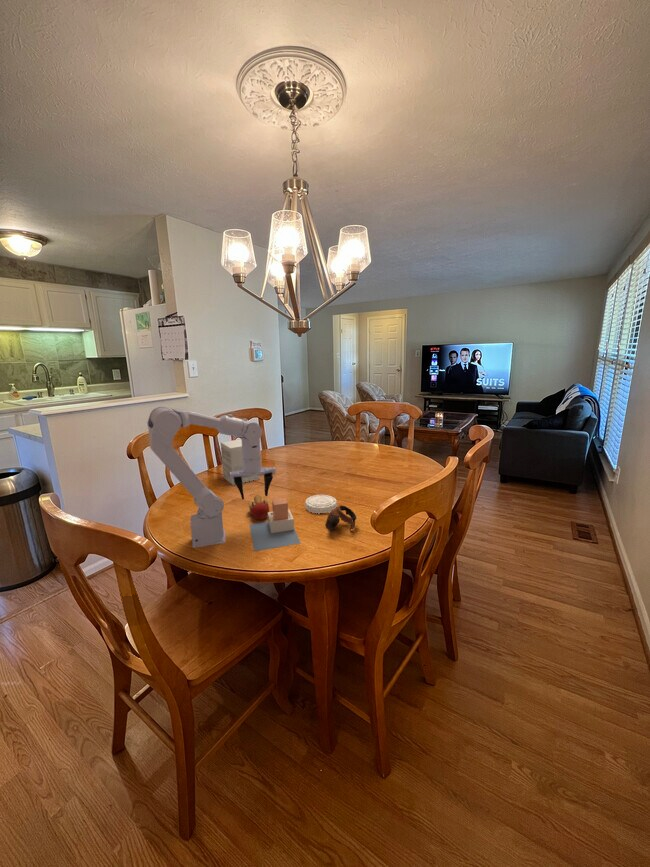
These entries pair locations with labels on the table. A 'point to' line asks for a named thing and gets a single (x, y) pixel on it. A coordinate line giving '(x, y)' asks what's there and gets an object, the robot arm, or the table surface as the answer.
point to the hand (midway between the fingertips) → (254, 496)
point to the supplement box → (233, 460)
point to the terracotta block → (280, 509)
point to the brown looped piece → (337, 514)
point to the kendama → (259, 508)
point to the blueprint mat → (271, 537)
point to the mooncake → (320, 504)
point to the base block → (280, 523)
